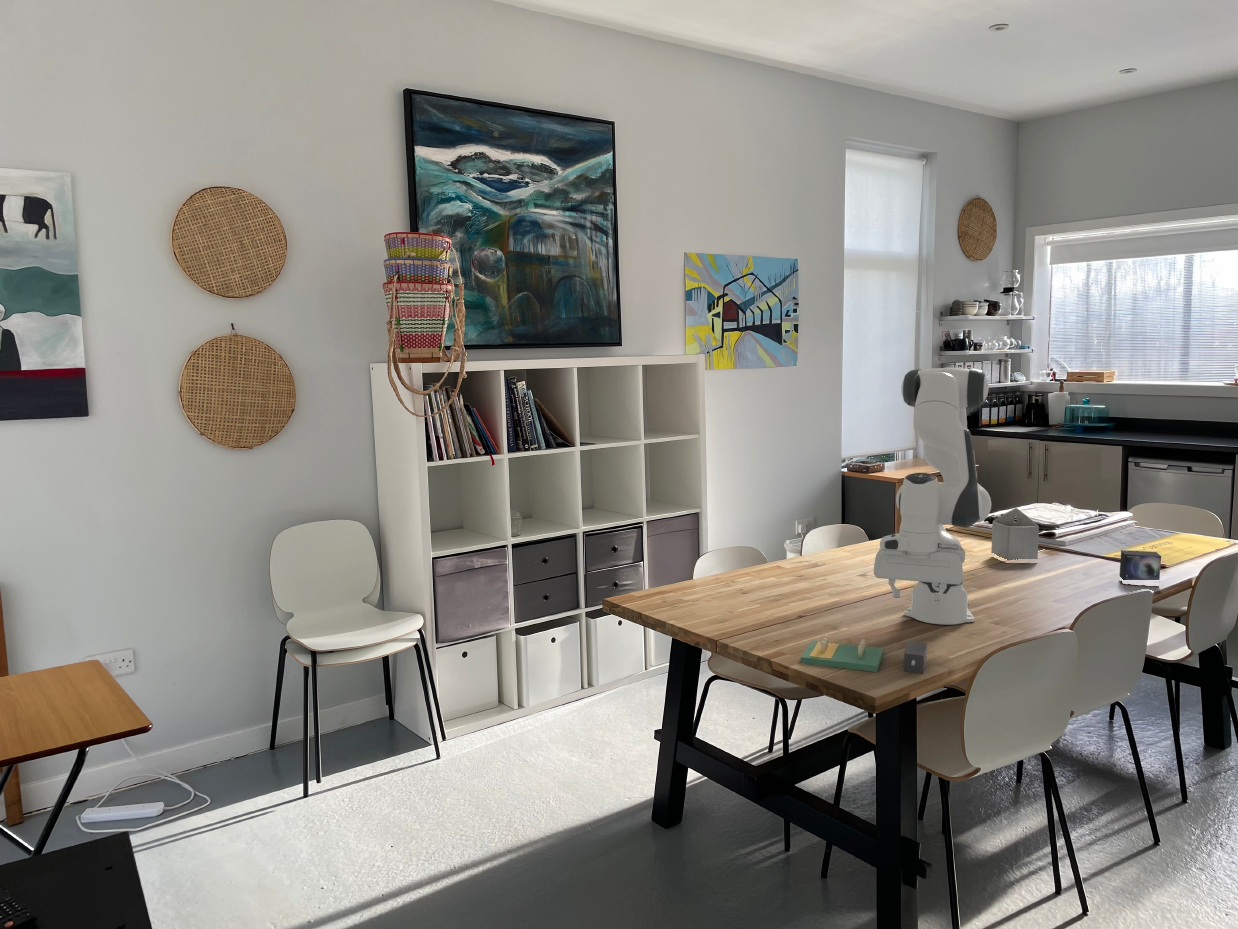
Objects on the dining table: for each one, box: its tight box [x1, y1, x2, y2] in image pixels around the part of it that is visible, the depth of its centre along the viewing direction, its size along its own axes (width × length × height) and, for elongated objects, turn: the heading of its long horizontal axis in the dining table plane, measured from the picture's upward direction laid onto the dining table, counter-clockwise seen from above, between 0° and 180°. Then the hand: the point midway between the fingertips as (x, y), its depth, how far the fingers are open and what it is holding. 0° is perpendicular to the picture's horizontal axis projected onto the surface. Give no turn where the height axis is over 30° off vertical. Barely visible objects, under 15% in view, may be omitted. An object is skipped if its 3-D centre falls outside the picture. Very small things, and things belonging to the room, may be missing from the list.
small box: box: [1119, 549, 1162, 580], centre depth 291 cm, size 11×6×10 cm, turn 73°
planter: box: [991, 507, 1040, 560], centre depth 324 cm, size 16×8×19 cm, turn 48°
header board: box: [800, 635, 885, 673], centre depth 221 cm, size 14×18×4 cm
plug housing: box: [903, 640, 928, 674], centre depth 215 cm, size 13×4×4 cm, turn 157°
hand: (916, 599), depth 214 cm, fingers open, 8 cm apart
